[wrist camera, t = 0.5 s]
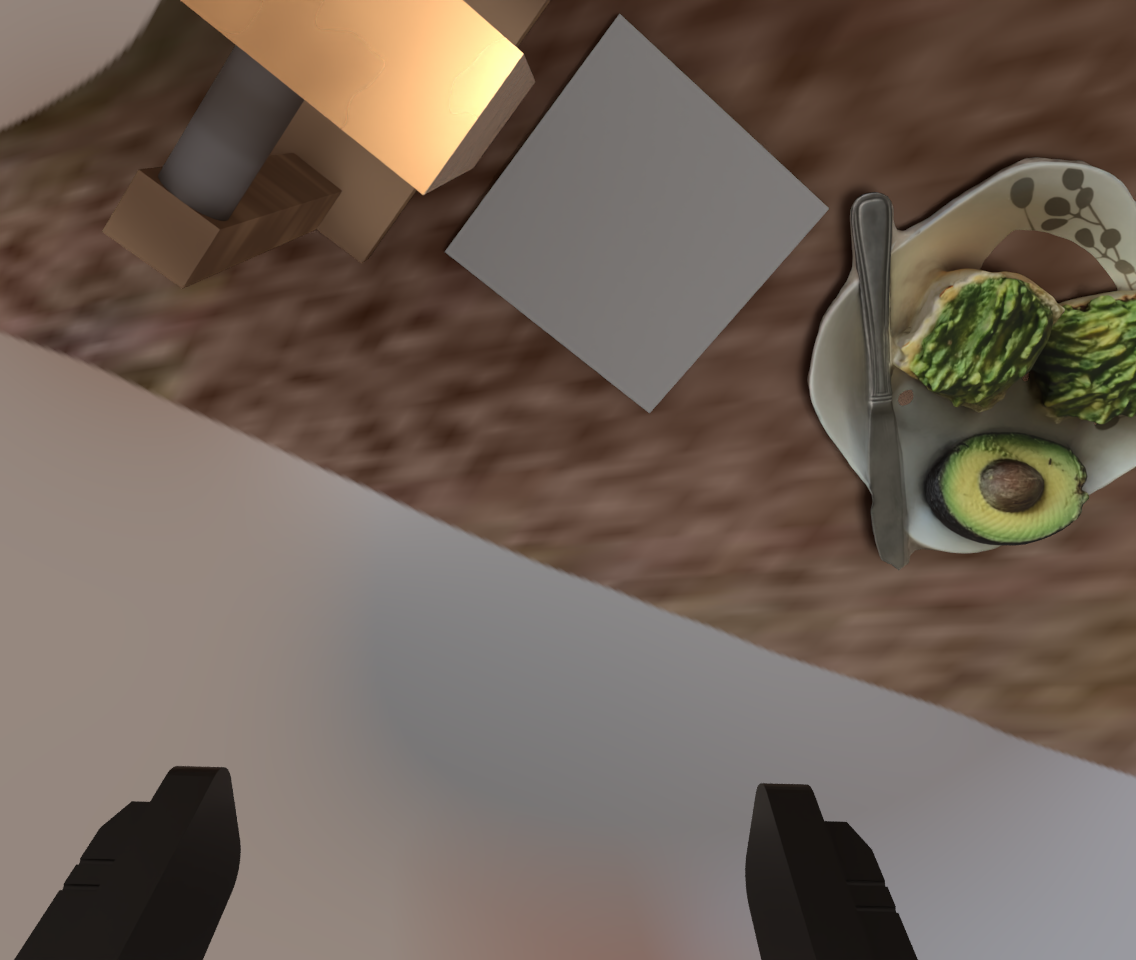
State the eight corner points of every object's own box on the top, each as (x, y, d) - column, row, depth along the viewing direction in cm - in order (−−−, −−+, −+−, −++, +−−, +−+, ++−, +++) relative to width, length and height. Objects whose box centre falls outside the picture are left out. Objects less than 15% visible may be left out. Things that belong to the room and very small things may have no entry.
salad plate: (699, 303, 40) (716, 324, 36) (1049, 43, 37) (1115, 32, 32) (902, 590, 46) (937, 637, 42) (1221, 393, 43) (1296, 423, 38)
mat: (618, 15, 36) (619, 13, 35) (825, 207, 39) (829, 208, 38) (446, 250, 39) (444, 251, 38) (648, 409, 42) (649, 413, 41)
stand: (467, -224, 32) (395, -517, 18) (610, -86, 34) (654, -246, 19) (232, 154, 37) (21, 174, 22) (368, 258, 39) (255, 340, 24)
